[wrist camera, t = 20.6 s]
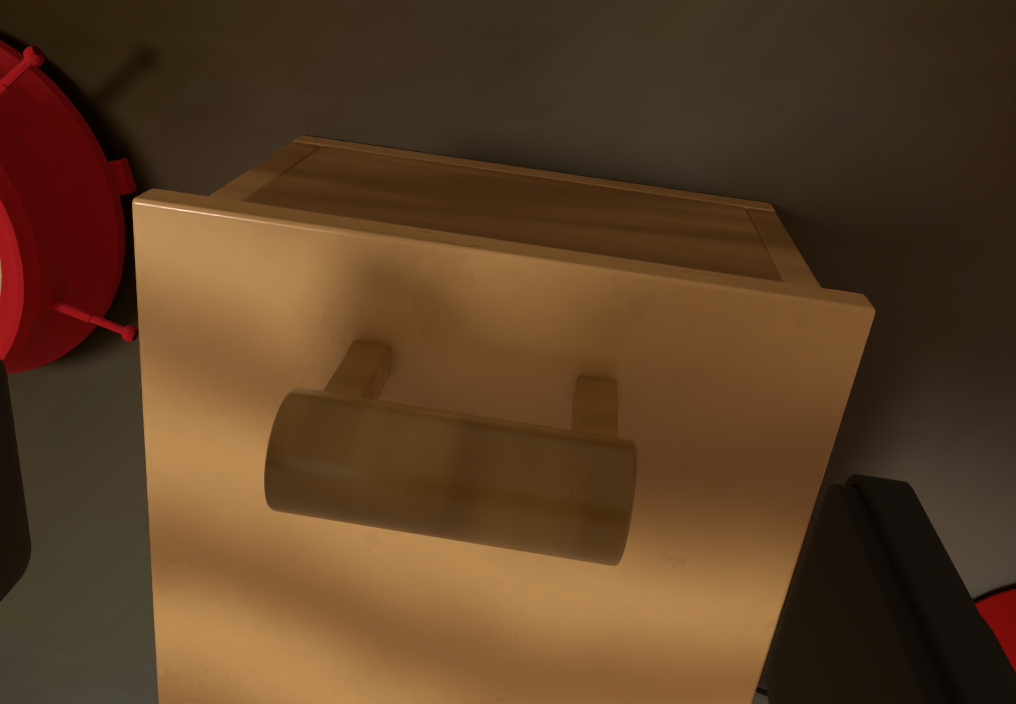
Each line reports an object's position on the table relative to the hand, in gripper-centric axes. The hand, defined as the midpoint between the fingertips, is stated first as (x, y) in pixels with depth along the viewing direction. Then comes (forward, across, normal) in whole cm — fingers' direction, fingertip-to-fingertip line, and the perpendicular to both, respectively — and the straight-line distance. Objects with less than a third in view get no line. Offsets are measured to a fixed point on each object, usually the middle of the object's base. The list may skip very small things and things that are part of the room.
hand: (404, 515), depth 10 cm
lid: (+6, 0, +7) cm, 10 cm away
